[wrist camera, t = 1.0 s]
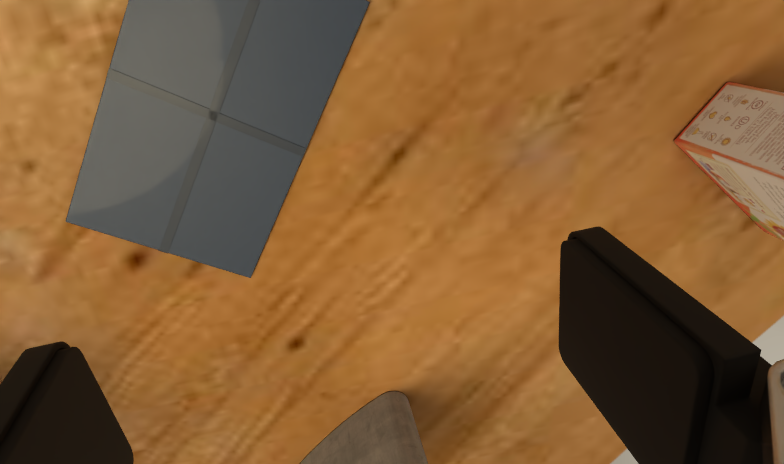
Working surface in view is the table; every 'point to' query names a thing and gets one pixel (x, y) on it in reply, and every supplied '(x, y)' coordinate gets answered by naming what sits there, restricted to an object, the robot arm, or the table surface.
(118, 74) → the napkin
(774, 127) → the cracker box
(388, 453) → the hip flask
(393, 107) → the table surface
